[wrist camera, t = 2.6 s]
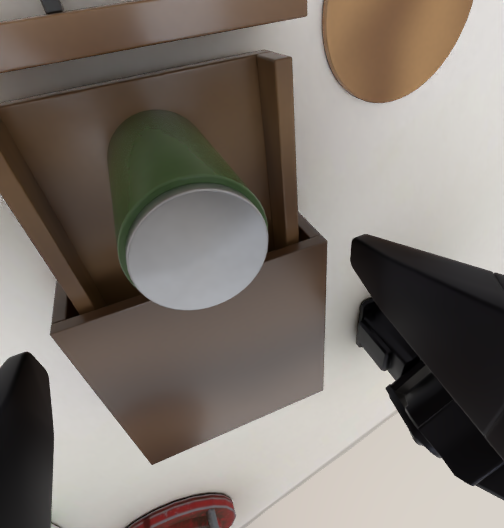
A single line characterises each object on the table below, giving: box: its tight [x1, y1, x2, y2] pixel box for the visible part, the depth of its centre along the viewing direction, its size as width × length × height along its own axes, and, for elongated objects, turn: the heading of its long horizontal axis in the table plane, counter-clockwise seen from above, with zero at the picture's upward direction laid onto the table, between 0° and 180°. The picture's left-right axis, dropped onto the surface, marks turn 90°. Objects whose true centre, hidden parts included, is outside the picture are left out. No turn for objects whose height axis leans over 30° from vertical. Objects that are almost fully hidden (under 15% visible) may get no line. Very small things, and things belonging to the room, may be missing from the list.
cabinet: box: [50, 212, 327, 465], centre depth 24 cm, size 15×14×5 cm
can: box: [107, 110, 268, 310], centre depth 13 cm, size 5×5×8 cm
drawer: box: [0, 0, 307, 315], centre depth 15 cm, size 18×13×3 cm
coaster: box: [322, 0, 473, 103], centre depth 17 cm, size 9×9×1 cm
